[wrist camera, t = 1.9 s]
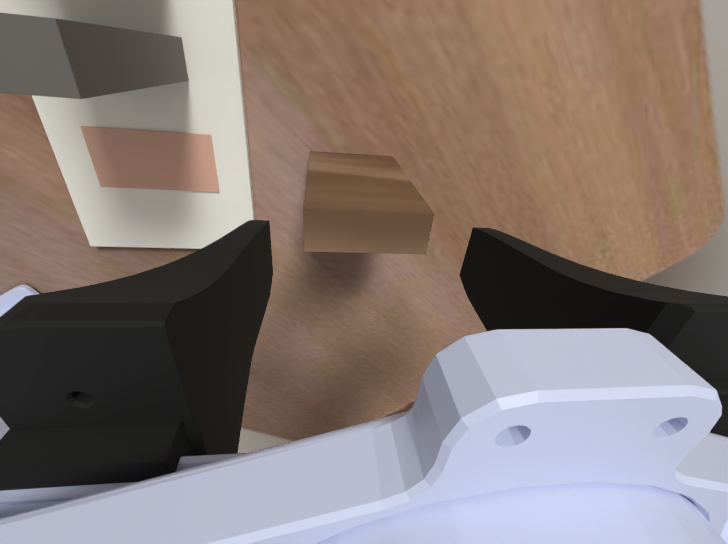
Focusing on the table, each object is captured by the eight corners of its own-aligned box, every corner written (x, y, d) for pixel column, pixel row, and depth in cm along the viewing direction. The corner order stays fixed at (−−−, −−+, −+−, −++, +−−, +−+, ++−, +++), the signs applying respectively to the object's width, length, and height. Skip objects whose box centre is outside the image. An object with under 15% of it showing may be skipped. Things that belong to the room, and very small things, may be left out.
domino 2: (389, 185, 22) (425, 254, 14) (310, 181, 21) (303, 251, 13) (392, 156, 21) (434, 213, 13) (310, 151, 20) (303, 208, 12)
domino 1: (188, 80, 17) (81, 99, 9) (78, 71, 16) (-134, 82, 9) (181, 37, 16) (55, 18, 8) (64, 25, 15) (-189, -7, 8)
